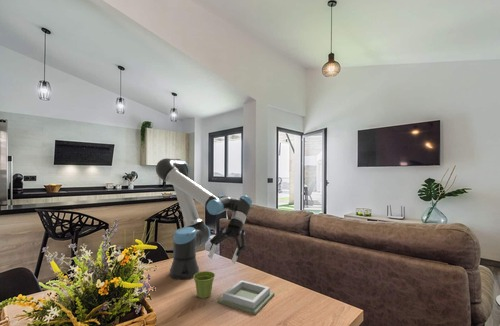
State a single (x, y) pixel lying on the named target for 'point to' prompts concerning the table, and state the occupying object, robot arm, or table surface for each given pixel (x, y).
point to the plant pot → (204, 283)
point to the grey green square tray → (247, 296)
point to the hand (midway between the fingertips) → (221, 259)
